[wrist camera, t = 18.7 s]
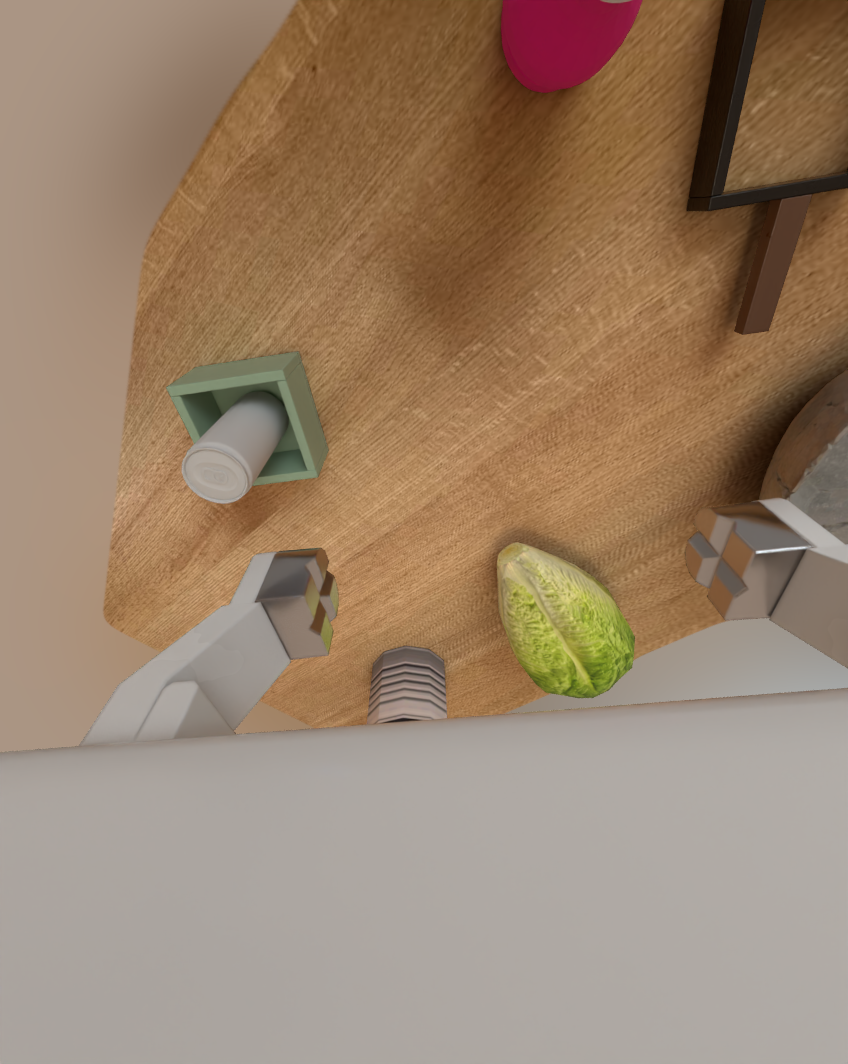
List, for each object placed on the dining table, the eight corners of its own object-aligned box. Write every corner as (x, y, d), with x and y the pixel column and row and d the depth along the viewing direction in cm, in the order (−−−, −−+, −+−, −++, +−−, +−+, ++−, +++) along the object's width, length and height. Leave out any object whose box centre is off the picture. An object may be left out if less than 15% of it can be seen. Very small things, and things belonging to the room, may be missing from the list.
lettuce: (592, 518, 41) (495, 619, 39) (672, 654, 50) (596, 743, 47) (515, 502, 53) (436, 578, 50) (590, 614, 61) (526, 684, 59)
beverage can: (288, 443, 42) (249, 511, 32) (237, 431, 41) (181, 497, 31) (292, 396, 39) (250, 455, 29) (237, 382, 38) (176, 438, 29)
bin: (194, 367, 38) (165, 387, 33) (298, 351, 37) (282, 369, 33) (237, 462, 44) (217, 490, 39) (328, 450, 43) (318, 477, 38)
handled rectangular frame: (731, -38, 24) (765, -65, 22) (949, -84, 24) (1009, -118, 21) (662, 335, 36) (679, 344, 34) (805, 314, 36) (833, 321, 33)
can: (413, 634, 60) (411, 715, 50) (461, 671, 65) (468, 750, 56) (356, 667, 64) (345, 746, 55) (406, 698, 70) (404, 776, 60)
